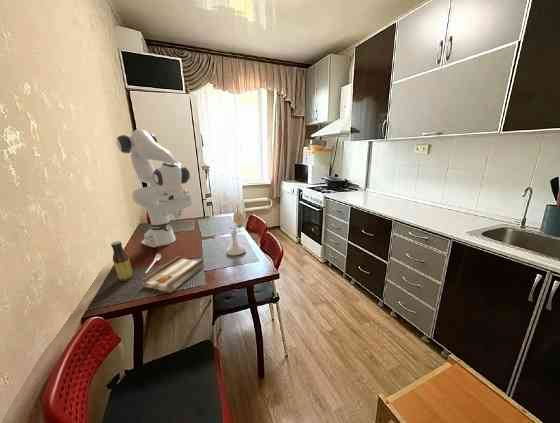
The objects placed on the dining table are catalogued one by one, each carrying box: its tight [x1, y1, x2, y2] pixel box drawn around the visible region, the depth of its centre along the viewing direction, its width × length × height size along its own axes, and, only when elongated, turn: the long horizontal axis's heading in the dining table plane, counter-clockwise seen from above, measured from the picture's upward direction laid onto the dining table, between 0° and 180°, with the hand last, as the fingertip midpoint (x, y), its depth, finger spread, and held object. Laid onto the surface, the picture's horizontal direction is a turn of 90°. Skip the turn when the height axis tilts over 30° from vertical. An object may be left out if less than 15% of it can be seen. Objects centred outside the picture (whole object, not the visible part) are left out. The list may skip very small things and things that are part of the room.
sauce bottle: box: [110, 240, 134, 282], centre depth 114 cm, size 7×6×20 cm
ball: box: [159, 276, 169, 283], centre depth 110 cm, size 4×4×4 cm
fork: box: [144, 253, 162, 274], centre depth 130 cm, size 3×20×2 cm, turn 7°
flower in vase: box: [225, 211, 246, 256], centre depth 136 cm, size 13×11×25 cm
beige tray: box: [141, 255, 205, 293], centre depth 117 cm, size 16×24×4 cm, turn 161°
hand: (178, 218), depth 126 cm, fingers closed
